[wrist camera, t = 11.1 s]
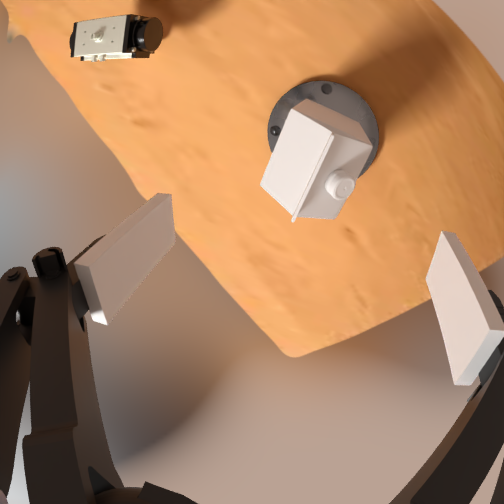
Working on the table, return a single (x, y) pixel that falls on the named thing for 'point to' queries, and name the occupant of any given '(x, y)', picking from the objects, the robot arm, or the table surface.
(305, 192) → the milk carton
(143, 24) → the pneumatic valve
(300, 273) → the table surface
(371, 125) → the duct flange
